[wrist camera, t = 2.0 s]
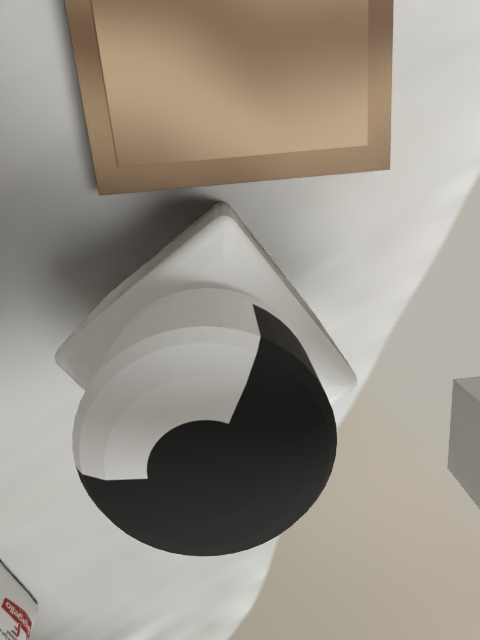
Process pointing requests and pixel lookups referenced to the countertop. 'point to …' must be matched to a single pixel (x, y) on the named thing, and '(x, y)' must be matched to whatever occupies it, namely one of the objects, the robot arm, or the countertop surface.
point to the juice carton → (15, 609)
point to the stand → (232, 89)
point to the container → (205, 395)
